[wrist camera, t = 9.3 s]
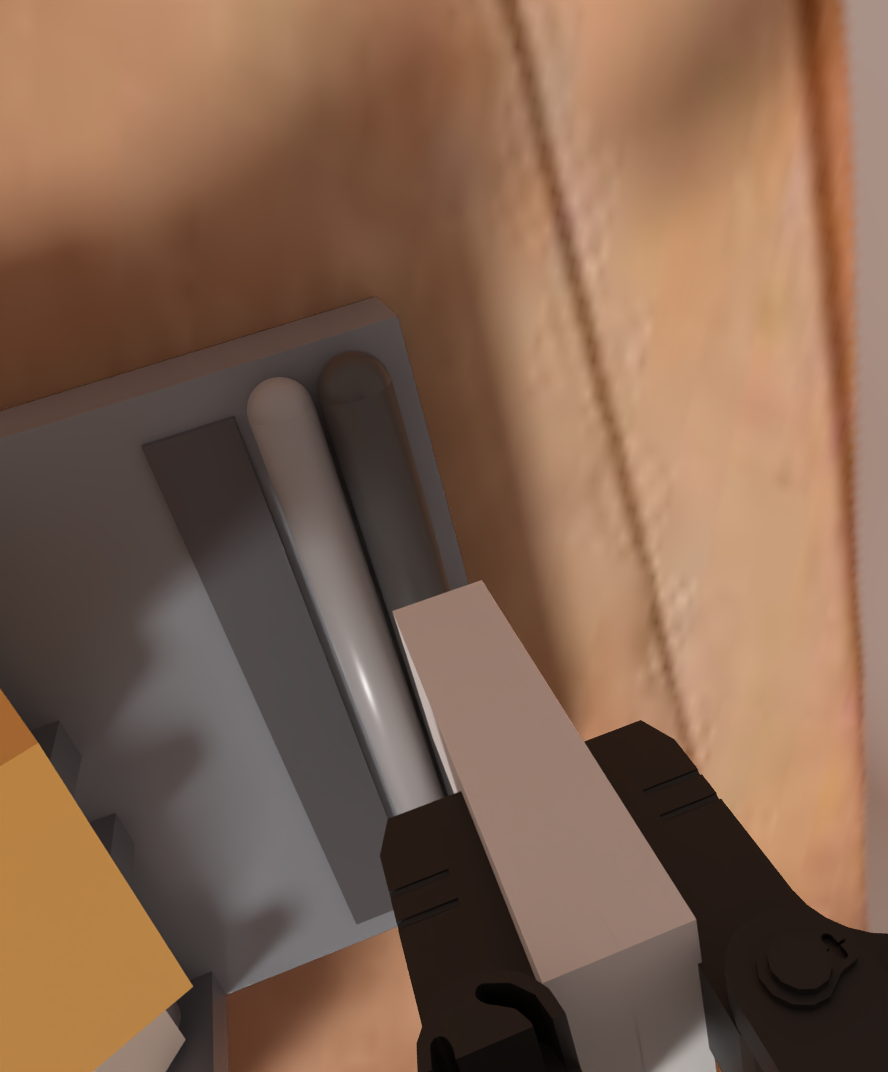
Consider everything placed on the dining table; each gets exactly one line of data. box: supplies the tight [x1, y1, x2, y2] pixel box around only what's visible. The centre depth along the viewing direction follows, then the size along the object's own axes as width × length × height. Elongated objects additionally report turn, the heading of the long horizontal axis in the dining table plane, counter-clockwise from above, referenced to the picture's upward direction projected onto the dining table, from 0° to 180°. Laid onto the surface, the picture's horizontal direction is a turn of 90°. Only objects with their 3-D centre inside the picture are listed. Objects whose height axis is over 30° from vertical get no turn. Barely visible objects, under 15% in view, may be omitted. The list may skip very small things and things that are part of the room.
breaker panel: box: [0, 297, 469, 1072], centre depth 20 cm, size 18×24×6 cm
